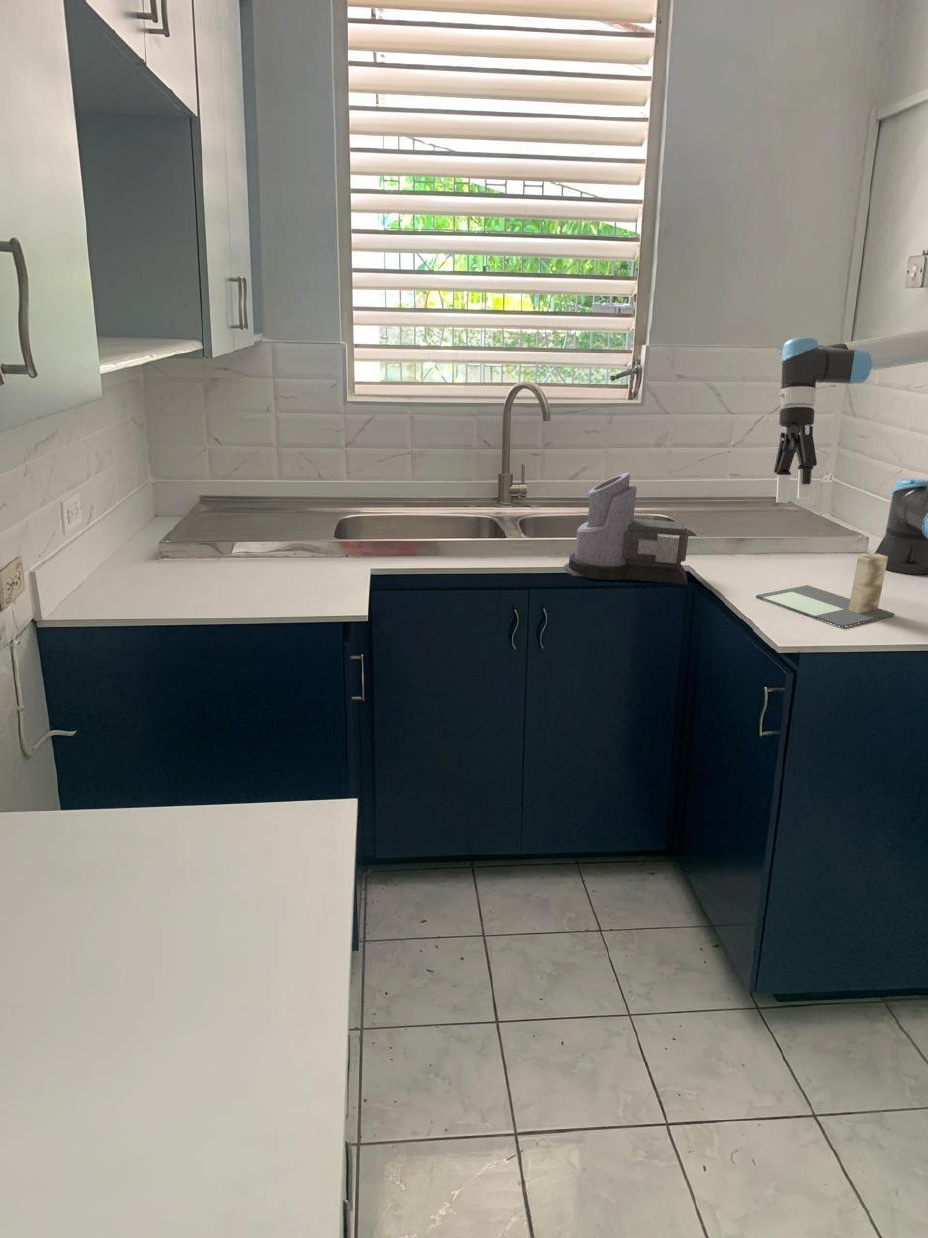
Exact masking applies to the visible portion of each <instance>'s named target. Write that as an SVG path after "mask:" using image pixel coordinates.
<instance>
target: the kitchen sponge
mask: <svg viewBox="0 0 928 1238" xmlns="http://www.w3.org/2000/svg"><path fill="white" fill-rule="evenodd" d="M887 560H888V556H884V555H881V554H875V553H874V554H870V555H863V556H858V557H857V561H856V567H855V572H854V579H853V582H852V583H853V584H852V589H851V594H850V598H849V599H850V603H849V609H848V610H850V611H853V612H856V613H862V612H866V611H871V610H875V609H878V608H879V605H880V600H881V595H882V590H883V585H884V580H885V575H886V571H887V570H886V565H887Z"/></svg>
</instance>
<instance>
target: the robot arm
mask: <svg viewBox="0 0 928 1238" xmlns="http://www.w3.org/2000/svg"><path fill="white" fill-rule="evenodd" d="M921 363H928V329H922V330H918V331H911V332H905V333H897V334H891V335H884V336H878V337H874V338H866V339H860V340H854V341H848V342H842V343H835V344H830V345H822V344H821V345H820V344H819V342H818V339H816V338H813V337H811V338H810V337H796V338H791V339H788V340H787V341H786V342H784V344H783V349H782V358H781V385H780V393H779V394H778V397H779V398H780V405H779V406H780V407H781V410H779V422H778V423H779V426H781V427H786V431H785V432H780V436H779V445H778V449H777V455H776V460H775V465H774V468H773V472H774V473H775V474H776V475H777V479H776V481H777V483H776V497H775V498H776V499H775V501H776V502H775V503H778V504H779V503H786V504H787V503H789V502H790V500H789V499H790V484H791V483H790V481H791V475H792V472H791V471H790V469H791V466H792V463H793V461H794V460H793V459H794V457H795V454H796V457H797V461H798V466H797V470H798V473H797V475H798V476H797V480H798V481H797V500H803V501H804V500H806V501H807V500H811V498H812V496H811V493H812V477H813V476H812V475H813V474H812V473H813V470H814V467H816V466H817V465H818V461H817V456H816V455H817V454H816V449H815V443H814V436H813V435H814V432H813V431H814V427H813V425H814V424H815V409H814V408H813V407H815V406H816V395H817V394H816V392H817V391H816V390H817V389H816V388H817V387H816V386H817V385H816V383H819V384H820V383H825V384H828V383H829V384H830V383H831V384H848V385H852V384H863V383H865V382H866V381H867V379H869V376H870V374H871V371H876V370H883V369H888V368H889V369H890V368H896V367H902V366H903V367H904V366H909V365H916V364H921ZM891 493H892V496H891V503H890V507H889V513H888V518H887V522H886V529H885V533H884V536H883V537H882V540H881V542H880V543H879V545H878V547H876V550H875V552H874V554H881V555H884V556H888V560H887V565H886V570H885V571H889V572H895V573H900V574H906V573H907V575H928V479H920V478H901V479H898V480H897V481H895V484H894V487H893V491H892V492H891Z"/></svg>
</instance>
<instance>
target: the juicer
mask: <svg viewBox="0 0 928 1238" xmlns="http://www.w3.org/2000/svg"><path fill="white" fill-rule="evenodd" d="M630 478H631V473H630V472H624V473H621V474H618V475H616V476H614V477H611V478H609V479H607V480H605V481H603V482H601V483H599V484H598V485H596V486H594V487H592V488H591V489H590V490H589V492H588V493H587V498H588V499H589V505H588V507H589V508H588V516H587V517H588V518H587V521H585V522H584V523H582V524H581V525H580V526H579V527H578V528H577V529H576V530H577V531H576V540H575V541H576V542H575V543H576V544H575V552H573V553H572V554H571V555H569V560H568V562H567V563H566V564H564V565H563V566H562V567H563V570H564V571H565V573H567V574H569V575H571V576H574V577H583V578H587V579H596V580H606V581H609V580H610V581H612V580H613V581H615V580H632V581H633V580H634V581H643V582H655V583H665V584H667V583H668V584H676V585H689V584H688V577H687V571H686V569H685V568H684V567H683V565H682V562H686V560H687V559H686V558H687V551H688V543H689V542H688V541H689V535H690V534H689V530H688V528H687V527H686V526H685V522H681V521H672V520H671V521H670V520H669V521H668V520H660V519H659V520H658V519H643V518H634V517H635V509H636V499H637V497H636V496H637V489H638V487H637V485H636V484H633V483H632V484H630Z"/></svg>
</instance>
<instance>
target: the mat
mask: <svg viewBox="0 0 928 1238" xmlns="http://www.w3.org/2000/svg"><path fill="white" fill-rule="evenodd" d="M755 599H759V600H762V601H764V602H766V603H767V602H768V603H770V604H773V605H776V606H778V607H780V608H783V607H784V609H787V610H789V611H792V612H795V613H797V614H801V615H803V616H806V617H809V618H811V617H812V619H814V618H815V620H817V619H820V620H823V621H826V622H829V623H832V624H835V625H837V626H840V627H845V626H850V625H854V624H858V623H863V622H867V623H870V622H869V621H871V622H874V621H873V620H875V621H878V620H877V619H880V620H883V619H887V618H892V617H895V613H894V612H891V611H888V610H884V609H881V608H879V607H878V609H875V610H871V611H866V612H862V613H856V612H853V611H850V610H848V609H849V603H850V598H848V597H844V596H843V595H840V594H839V595H838V594H836V593H834V592H833V593H832V592H830V591H826V590H824V589H821V588H817V587H814V586H812V585H808V584H807V585H802V586H798V587H797V586H796V587H790V588H786V589H780V590H776V591H775V590H774V591H771V592H766V593H760V594H756V595H755ZM820 620H819V621H820ZM823 621H822V622H823ZM863 624H864V623H863ZM837 626H836V627H837ZM850 627H851V626H850Z"/></svg>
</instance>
